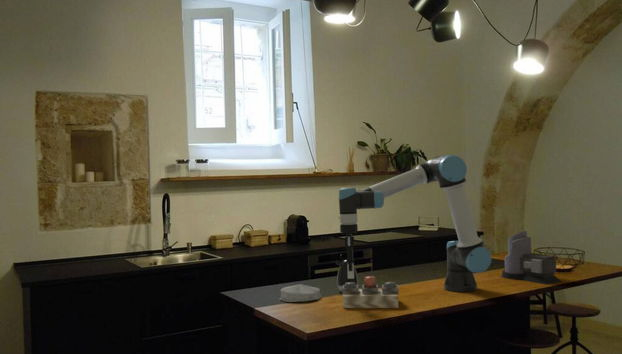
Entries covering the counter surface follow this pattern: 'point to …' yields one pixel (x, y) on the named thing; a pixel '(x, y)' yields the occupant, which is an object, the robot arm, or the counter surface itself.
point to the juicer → (528, 262)
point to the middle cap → (369, 281)
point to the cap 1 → (350, 285)
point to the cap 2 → (389, 284)
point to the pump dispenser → (345, 275)
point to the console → (370, 297)
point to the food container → (299, 293)
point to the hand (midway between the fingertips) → (350, 278)
